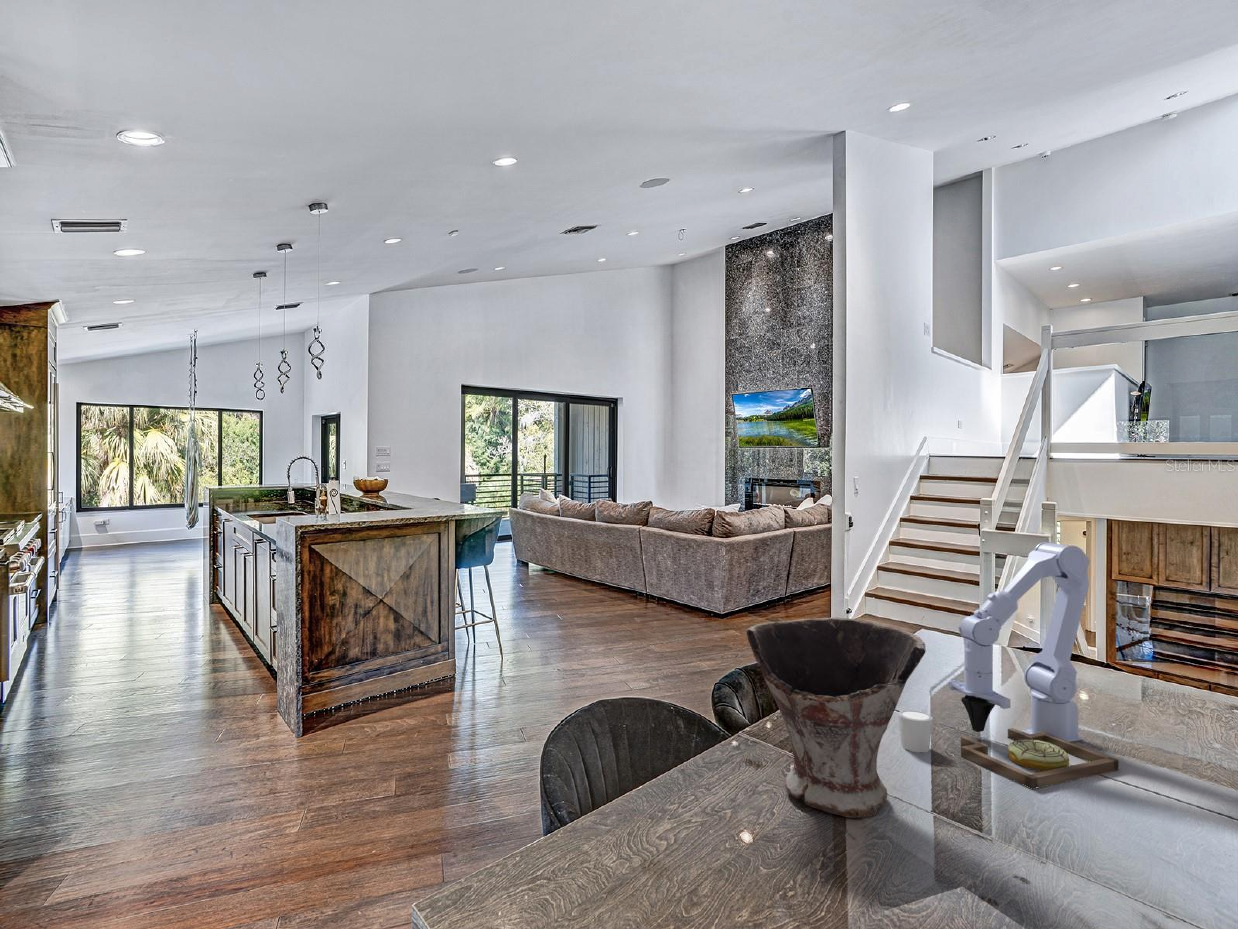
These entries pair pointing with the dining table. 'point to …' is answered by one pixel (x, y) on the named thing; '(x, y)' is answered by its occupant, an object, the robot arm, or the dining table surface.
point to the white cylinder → (915, 730)
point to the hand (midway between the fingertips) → (978, 730)
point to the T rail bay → (1095, 767)
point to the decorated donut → (1037, 755)
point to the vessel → (836, 703)
